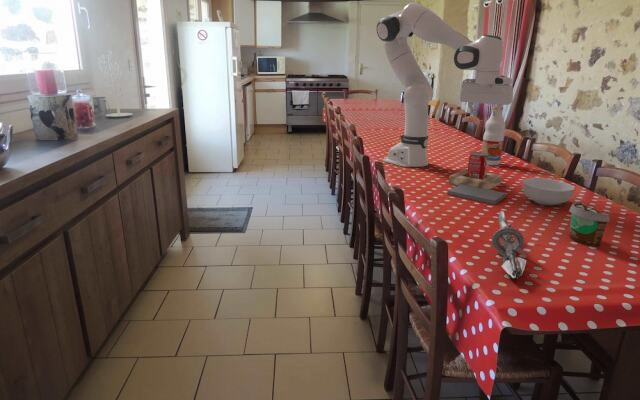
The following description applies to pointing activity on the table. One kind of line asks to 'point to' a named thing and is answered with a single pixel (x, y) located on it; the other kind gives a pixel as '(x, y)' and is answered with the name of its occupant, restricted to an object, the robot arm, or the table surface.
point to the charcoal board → (477, 194)
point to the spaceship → (509, 247)
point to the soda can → (477, 165)
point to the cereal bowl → (547, 191)
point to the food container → (587, 224)
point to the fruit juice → (494, 138)
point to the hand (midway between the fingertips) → (483, 114)
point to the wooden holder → (475, 180)
